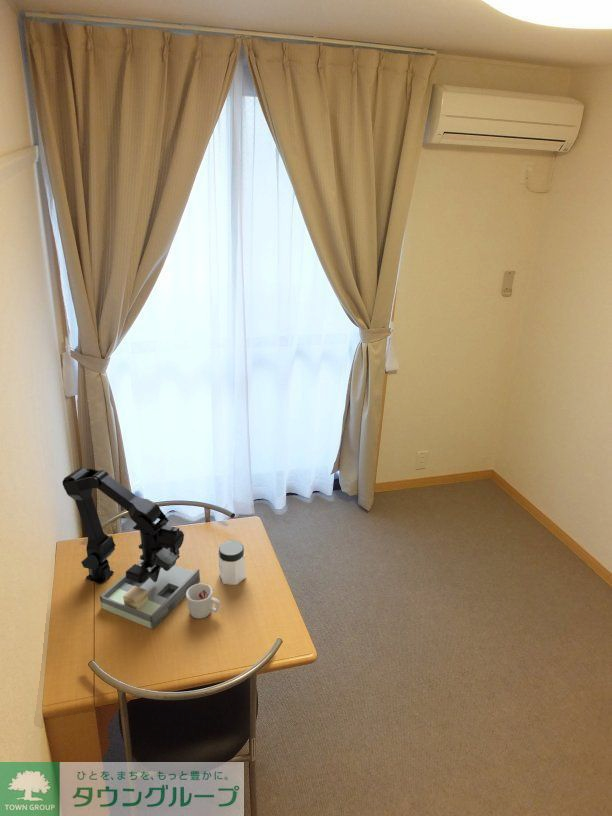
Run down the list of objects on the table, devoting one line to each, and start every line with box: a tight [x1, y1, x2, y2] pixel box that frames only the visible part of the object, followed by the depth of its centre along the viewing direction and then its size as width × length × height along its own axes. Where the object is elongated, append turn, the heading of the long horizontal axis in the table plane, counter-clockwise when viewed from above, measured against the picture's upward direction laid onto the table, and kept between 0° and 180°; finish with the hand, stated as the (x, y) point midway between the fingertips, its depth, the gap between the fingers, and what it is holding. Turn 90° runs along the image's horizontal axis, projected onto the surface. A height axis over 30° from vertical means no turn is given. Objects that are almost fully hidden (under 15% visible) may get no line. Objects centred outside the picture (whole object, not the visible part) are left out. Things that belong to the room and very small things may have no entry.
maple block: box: [123, 586, 148, 610], centre depth 167 cm, size 5×5×4 cm
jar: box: [218, 539, 246, 586], centre depth 181 cm, size 9×8×12 cm
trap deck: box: [99, 559, 201, 630], centre depth 175 cm, size 20×24×4 cm
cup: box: [185, 583, 221, 619], centre depth 167 cm, size 11×8×8 cm
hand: (155, 581), depth 176 cm, fingers closed
